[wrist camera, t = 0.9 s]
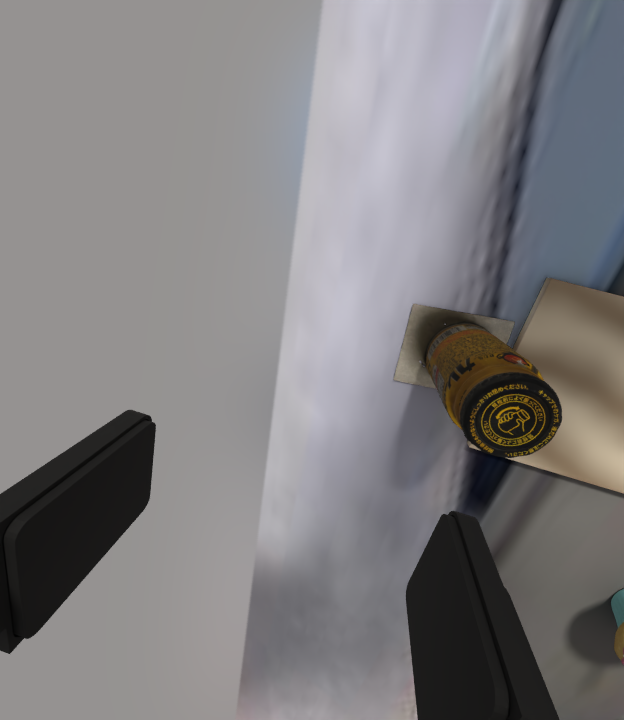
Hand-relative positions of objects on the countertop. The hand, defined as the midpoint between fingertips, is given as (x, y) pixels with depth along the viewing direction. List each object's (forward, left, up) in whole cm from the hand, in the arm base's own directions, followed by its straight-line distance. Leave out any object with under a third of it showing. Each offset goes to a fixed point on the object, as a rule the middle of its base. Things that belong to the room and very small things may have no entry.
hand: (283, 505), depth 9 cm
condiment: (0, +10, -23) cm, 25 cm away
